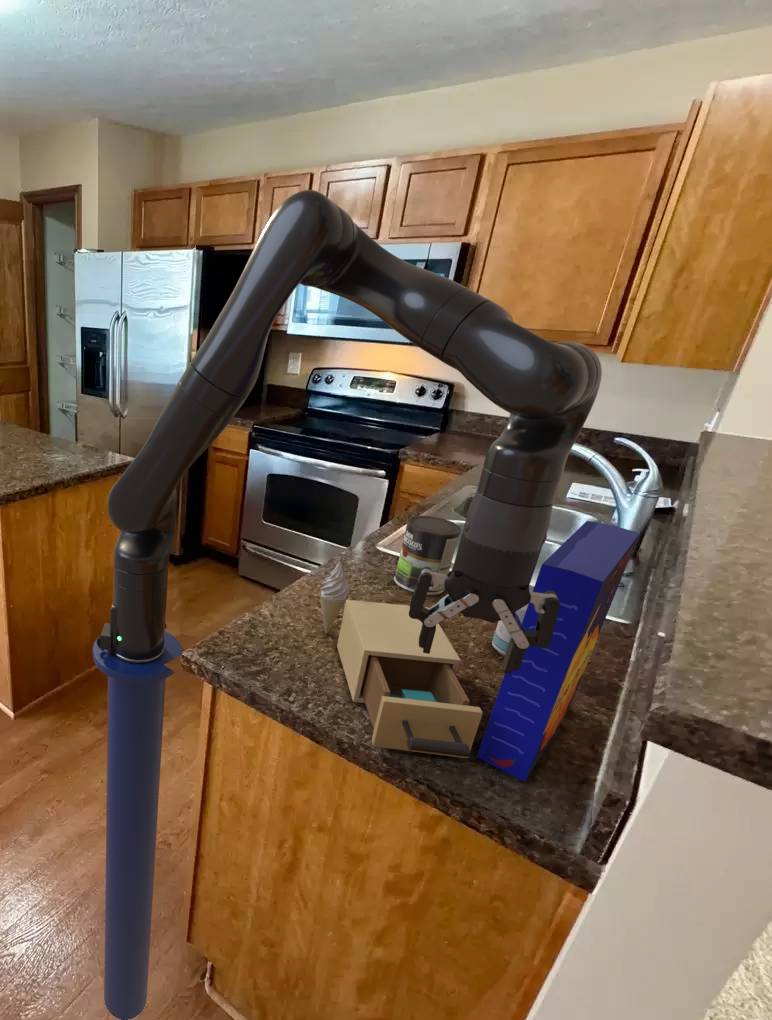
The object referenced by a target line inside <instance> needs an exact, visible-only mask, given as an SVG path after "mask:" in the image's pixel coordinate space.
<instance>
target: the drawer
mask: <svg viewBox="0 0 772 1020" xmlns="http://www.w3.org/2000/svg"><path fill="white" fill-rule="evenodd" d="M402 689H405V690H415V691H424V692H431V693H432V695H433V697H434V699H437V701H438V702H431V701H422V700H413V699H405V698H396V697H390V694H392V695H401V693H402ZM361 691H362V694H363V697H364V700H365V703H364V704H365V707H366V710H367V712H368V716H369V720H370V722H371V726H372V728H373V731H372V735H371V744H372V747H375V748H383V749H391V750H398V751H406V752H415V753H423V754H429V755H439V756H446V757H454V758H460V759H461V758H463V759H469V756H470V753H471V750H472V747H473V744H474V741H475V738H476V736H477V732H478V730H479V726H480V722H481V720H482V717H483V714H484V713H483V710H482V709H481V707H480V706H473V705H470V703H471V700H470V698H469V697H468V695H467V694H466V692H465V690H464V688H463V686H462V685H461V683H460V680H459V679H458V678H457V675H456V676H455V674H454V672H453V671H452V669H451V667H450V665H449V664H448V663H439V662H430V661H420V660H411V659H402V658H392V657H383V656H373V655H369V656H368V661H367V665H366V670H365V674H364V679H363V683H362V688H361Z"/></svg>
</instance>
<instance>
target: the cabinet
mask: <svg viewBox="0 0 772 1020" xmlns="http://www.w3.org/2000/svg"><path fill="white" fill-rule="evenodd" d="M424 607H425V608H427V609H429V608H430V606H429V607H427V606H424ZM409 610H410V605H408V604H407V605H406V604H396V603H388V602H387V603H385V602H374V601H366V600H365V601H364V600H354V599H352V600H351V599H347V600H346V601H345V603H344V609H343V614H342V618H341V619H342V620H341V624H340V630H339V635H338V639H337V645H336V648H337V652H338V654H339V658H340V661H341V665H342V668H343V671H344V675H345V679H346V682H347V685H348V689H349V692H350V696H351V700H352V703H359V704H365V700H364V697H363V694H362V691H361V688H362V683H363V679H364V674H365V670H366V665H367V661H368V656H369V655H373V656H383V657H392V658H402V659H411V660H420V661H430V662H439V663H448V664H449V665H450V667H451V669H452V671H453V672H454V674H455V676H456V677H457V675H458V671H459V668H460V665H461V662H462V659H461V658H460V656H459V654H458V653H457V651H456V649H455V648H454V646H453V645H452V643H451V641H450V639H449V638H448V637H447V635H446V633H445V632H444V630H443V628H442V626H441V625H440V623H438V624H436V631H435V635H434V639H433V642H432V646H431V650H430V653H429V654H426V653H423V648H421V647H419V636H420V632H421V628H422V622H421V621H419V620H418V619H412V618H410V616H409Z"/></svg>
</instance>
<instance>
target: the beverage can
mask: <svg viewBox="0 0 772 1020" xmlns="http://www.w3.org/2000/svg"><path fill="white" fill-rule="evenodd" d="M533 589H534V587H530V586H529V591H530V592H533ZM528 604H529V603H528ZM528 604H527V605H526V606H524V607H523V608H521V609H519V610H518V611H516V614H517V615H518V618H519V620H520V622H521V624H522V622H523V619H524V616H525V613H526V610H527V607H528ZM511 638H512V636H511V634H510V633H509V632H508V631H507V629H506V627H505V625H504V624H503V622H502V620H500V621H497V626H496V628H495V631H494V634H493V638H492V641H491V645H492V647H493V648H494V650H496V651H497V653H498V654H499V655H501V656H502V657H505V654H506V651H507V648H508V645H509V642H510V639H511Z"/></svg>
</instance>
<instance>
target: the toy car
mask: <svg viewBox="0 0 772 1020" xmlns="http://www.w3.org/2000/svg"><path fill="white" fill-rule="evenodd" d="M390 697H396V698H405V699H413V700H422V701H431V702H438V701H437V699H434V697H433V695H432V693H431V692H424V691H415V690H405V689H402V693H401V695H392V694H390Z"/></svg>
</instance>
